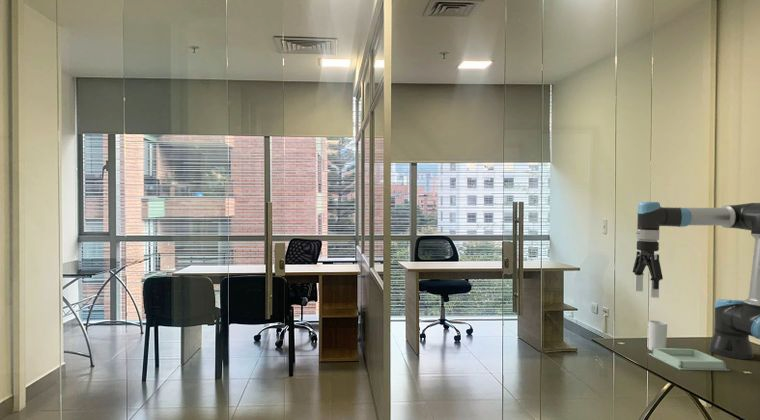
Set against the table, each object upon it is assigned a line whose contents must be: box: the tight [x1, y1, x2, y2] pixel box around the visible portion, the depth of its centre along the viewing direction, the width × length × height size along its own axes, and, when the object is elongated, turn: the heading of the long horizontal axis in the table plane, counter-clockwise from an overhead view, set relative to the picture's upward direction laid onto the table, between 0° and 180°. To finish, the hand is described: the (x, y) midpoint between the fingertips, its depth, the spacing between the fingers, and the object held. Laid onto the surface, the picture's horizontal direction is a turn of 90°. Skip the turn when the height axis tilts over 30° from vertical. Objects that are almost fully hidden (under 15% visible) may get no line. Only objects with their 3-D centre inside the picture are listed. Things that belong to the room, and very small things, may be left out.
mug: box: [647, 320, 668, 352], centre depth 193 cm, size 10×7×12 cm, turn 147°
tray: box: [647, 347, 731, 372], centre depth 177 cm, size 20×18×3 cm
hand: (646, 294), depth 177 cm, fingers open, 13 cm apart
